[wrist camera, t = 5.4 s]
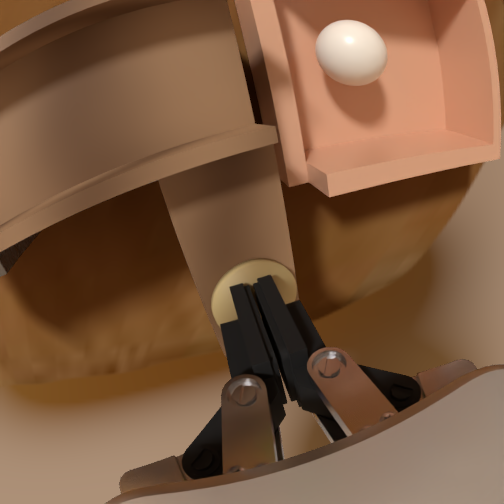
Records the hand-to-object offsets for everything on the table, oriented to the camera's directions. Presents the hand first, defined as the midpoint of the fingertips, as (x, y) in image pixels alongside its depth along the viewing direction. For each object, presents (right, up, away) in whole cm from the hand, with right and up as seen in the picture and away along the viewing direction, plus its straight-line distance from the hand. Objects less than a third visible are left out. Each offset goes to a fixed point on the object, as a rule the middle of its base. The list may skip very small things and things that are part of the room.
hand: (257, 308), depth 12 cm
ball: (+4, +11, -1) cm, 12 cm away
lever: (-10, +1, -3) cm, 10 cm away
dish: (+6, +14, +2) cm, 15 cm away
